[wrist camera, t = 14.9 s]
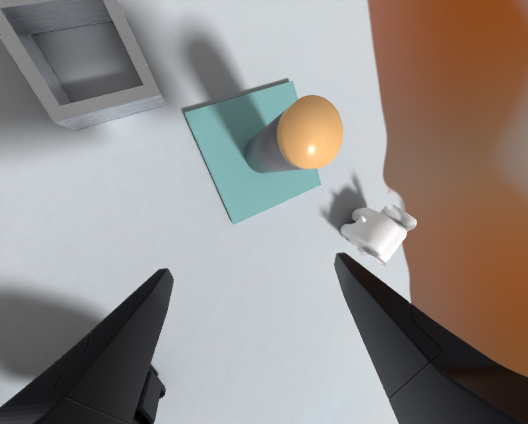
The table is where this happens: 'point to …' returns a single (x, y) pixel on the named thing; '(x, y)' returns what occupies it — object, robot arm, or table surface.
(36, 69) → the collar
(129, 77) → the table surface
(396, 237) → the elephant figurine
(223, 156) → the teal mat
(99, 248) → the table surface
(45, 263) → the table surface
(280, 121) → the grey orange domed cylinder
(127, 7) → the table surface
